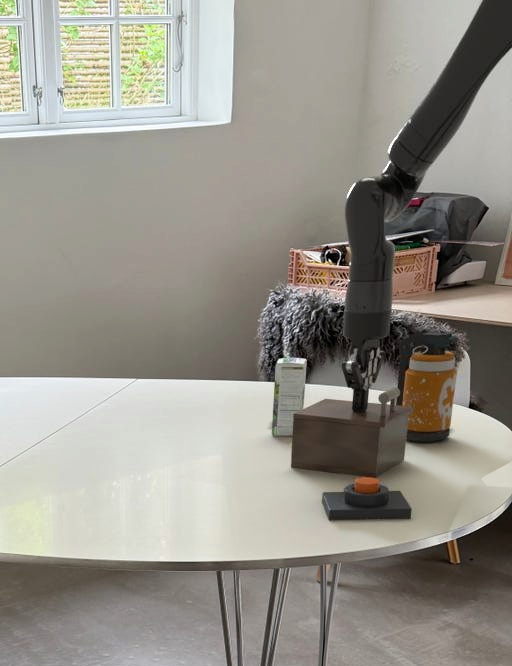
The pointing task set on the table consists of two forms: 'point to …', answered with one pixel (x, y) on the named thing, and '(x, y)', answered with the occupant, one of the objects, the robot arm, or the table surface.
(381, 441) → the brown wooden box
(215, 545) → the table surface
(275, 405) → the syrup box
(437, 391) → the canister
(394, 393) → the brown box lid
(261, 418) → the table surface
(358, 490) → the button
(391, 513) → the control block
